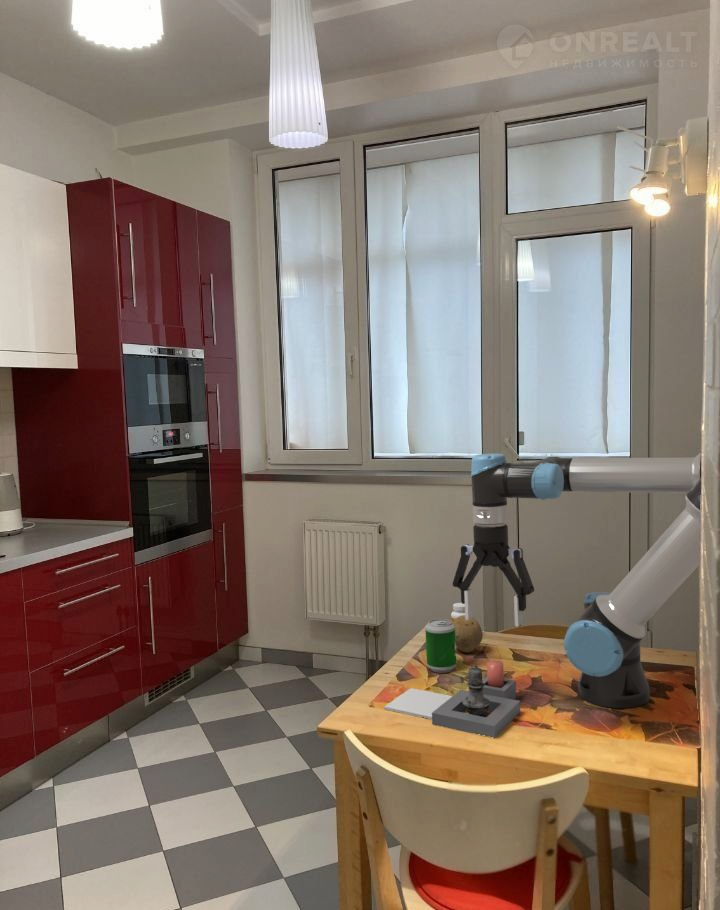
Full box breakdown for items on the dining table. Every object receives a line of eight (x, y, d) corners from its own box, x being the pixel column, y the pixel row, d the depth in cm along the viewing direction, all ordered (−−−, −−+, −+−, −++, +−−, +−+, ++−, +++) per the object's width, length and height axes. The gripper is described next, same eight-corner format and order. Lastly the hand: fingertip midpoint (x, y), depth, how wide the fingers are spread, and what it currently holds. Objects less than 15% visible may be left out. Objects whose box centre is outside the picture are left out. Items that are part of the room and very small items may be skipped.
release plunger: (506, 688, 167) (505, 662, 167) (500, 693, 164) (499, 667, 164) (491, 685, 169) (490, 659, 169) (485, 691, 166) (484, 664, 166)
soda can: (455, 674, 184) (453, 626, 183) (425, 673, 185) (423, 626, 184) (457, 663, 191) (456, 618, 190) (428, 663, 193) (426, 617, 192)
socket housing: (531, 700, 166) (531, 683, 166) (494, 738, 148) (493, 718, 148) (474, 689, 173) (473, 673, 173) (432, 724, 156) (431, 705, 156)
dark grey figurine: (484, 726, 154) (482, 669, 153) (458, 721, 157) (456, 665, 156) (495, 715, 159) (493, 660, 158) (469, 710, 162) (467, 656, 161)
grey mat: (457, 699, 168) (457, 697, 168) (432, 719, 158) (432, 717, 158) (410, 690, 175) (410, 688, 175) (384, 709, 165) (384, 706, 165)
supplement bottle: (466, 642, 208) (465, 608, 207) (448, 640, 210) (447, 606, 210) (473, 636, 213) (472, 603, 212) (456, 634, 215) (454, 601, 214)
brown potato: (442, 653, 199) (440, 617, 199) (460, 644, 206) (458, 609, 206) (471, 659, 194) (469, 622, 193) (488, 650, 200) (487, 613, 200)
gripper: (435, 523, 167) (438, 619, 169) (535, 529, 154) (538, 633, 156) (449, 518, 174) (453, 610, 175) (547, 523, 161) (550, 623, 162)
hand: (493, 621), depth 166 cm, fingers open, 11 cm apart
